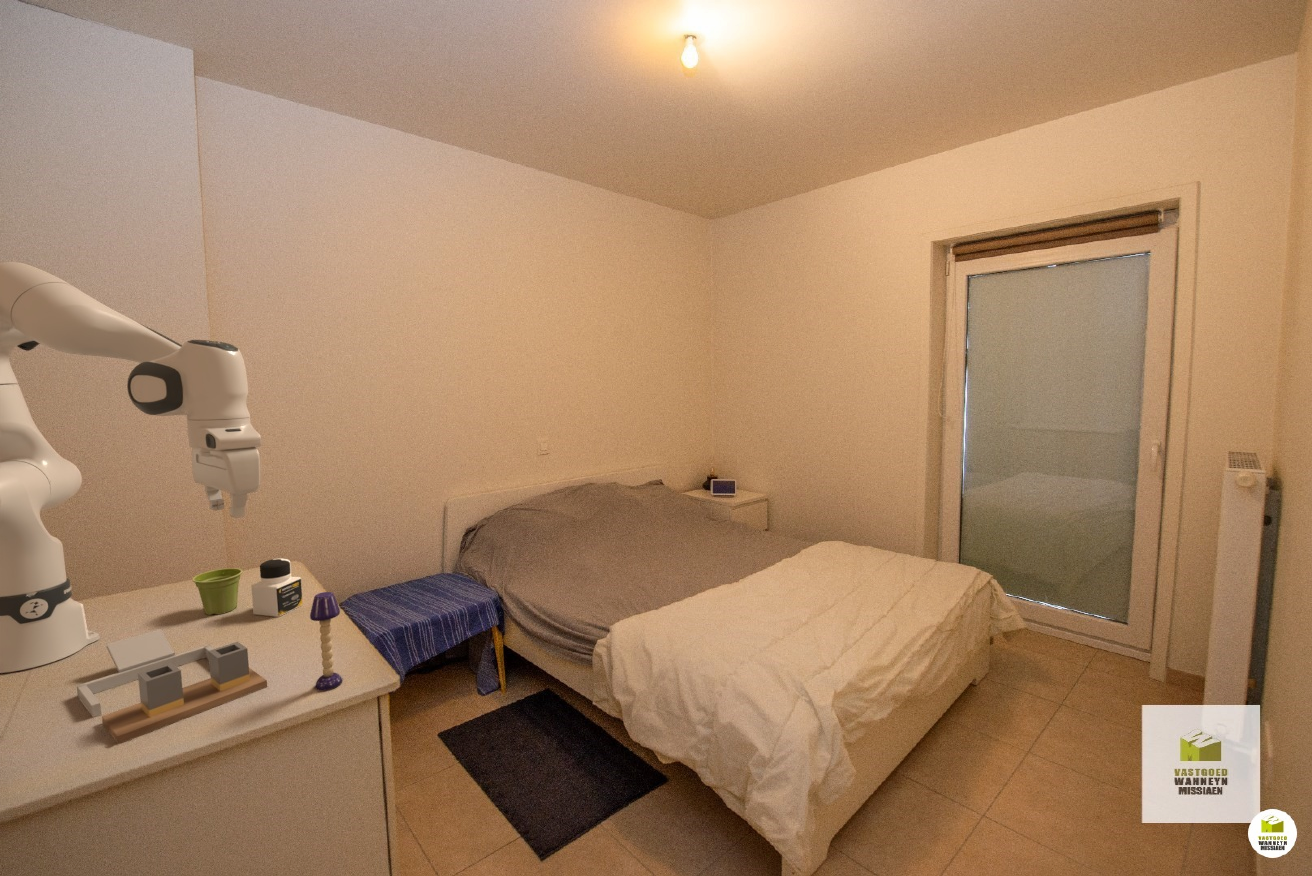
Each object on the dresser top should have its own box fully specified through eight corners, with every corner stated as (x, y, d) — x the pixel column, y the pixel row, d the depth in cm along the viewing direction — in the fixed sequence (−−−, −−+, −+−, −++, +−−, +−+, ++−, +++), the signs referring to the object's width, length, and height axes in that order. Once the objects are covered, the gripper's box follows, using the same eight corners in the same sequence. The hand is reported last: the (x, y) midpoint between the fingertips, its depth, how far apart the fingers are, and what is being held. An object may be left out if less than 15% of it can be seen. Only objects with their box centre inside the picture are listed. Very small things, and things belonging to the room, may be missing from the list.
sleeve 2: (211, 683, 103) (208, 650, 102) (240, 673, 106) (237, 641, 106) (220, 691, 100) (217, 658, 100) (249, 680, 104) (247, 648, 103)
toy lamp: (310, 683, 105) (304, 594, 103) (338, 674, 108) (333, 587, 107) (320, 693, 102) (314, 601, 100) (348, 683, 105) (343, 594, 103)
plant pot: (207, 621, 131) (204, 584, 130) (187, 613, 136) (184, 577, 135) (252, 607, 139) (250, 572, 139) (233, 599, 144) (230, 565, 143)
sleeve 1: (141, 708, 95) (137, 673, 94) (175, 696, 99) (171, 662, 98) (149, 717, 93) (146, 681, 92) (184, 704, 96) (180, 670, 96)
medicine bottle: (278, 617, 134) (275, 566, 132) (252, 614, 135) (248, 564, 134) (303, 605, 141) (300, 557, 139) (278, 603, 142) (274, 555, 141)
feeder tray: (68, 683, 105) (64, 654, 105) (196, 643, 120) (194, 619, 120) (93, 717, 95) (89, 685, 94) (230, 669, 110) (228, 642, 109)
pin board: (102, 723, 93) (99, 689, 92) (246, 671, 109) (244, 643, 109) (118, 743, 88) (114, 708, 87) (267, 686, 104) (265, 656, 103)
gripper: (177, 433, 104) (184, 508, 106) (221, 440, 93) (228, 525, 94) (219, 430, 110) (225, 502, 111) (265, 437, 98) (271, 517, 99)
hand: (227, 513), depth 103 cm, fingers open, 8 cm apart
